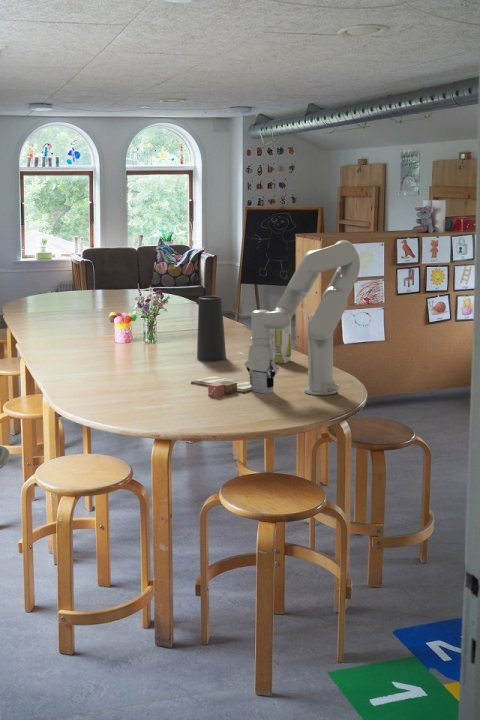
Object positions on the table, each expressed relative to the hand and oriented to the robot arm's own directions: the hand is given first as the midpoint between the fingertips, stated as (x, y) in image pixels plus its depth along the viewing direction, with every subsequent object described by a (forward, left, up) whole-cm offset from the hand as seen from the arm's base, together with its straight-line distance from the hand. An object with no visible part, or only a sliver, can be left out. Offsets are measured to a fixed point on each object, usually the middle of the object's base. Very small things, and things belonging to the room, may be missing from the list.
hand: (261, 385), depth 347 cm
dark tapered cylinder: (+63, -37, -3) cm, 73 cm away
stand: (+10, +10, -3) cm, 14 cm away
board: (+18, 0, -3) cm, 19 cm away
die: (+10, +13, 0) cm, 16 cm away
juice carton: (+32, -51, -3) cm, 60 cm away
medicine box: (0, 0, -3) cm, 3 cm away
